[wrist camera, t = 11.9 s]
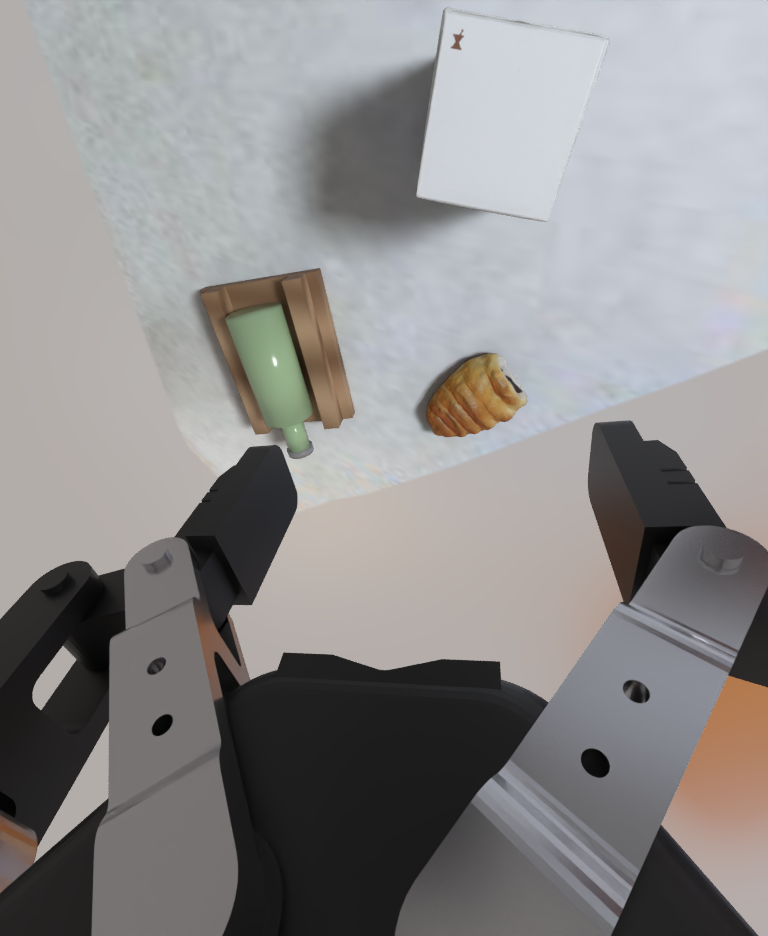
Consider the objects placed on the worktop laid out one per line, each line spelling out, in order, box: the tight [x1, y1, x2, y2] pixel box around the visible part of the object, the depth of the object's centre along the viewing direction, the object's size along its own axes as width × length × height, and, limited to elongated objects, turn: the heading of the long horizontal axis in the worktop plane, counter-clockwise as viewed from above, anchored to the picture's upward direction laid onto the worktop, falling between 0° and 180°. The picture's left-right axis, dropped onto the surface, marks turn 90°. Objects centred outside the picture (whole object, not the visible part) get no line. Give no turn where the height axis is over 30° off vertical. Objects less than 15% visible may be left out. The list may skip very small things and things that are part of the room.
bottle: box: [225, 302, 314, 459], centre depth 42 cm, size 14×5×5 cm, turn 10°
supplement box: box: [416, 7, 610, 222], centre depth 26 cm, size 7×7×13 cm
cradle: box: [200, 268, 355, 434], centre depth 42 cm, size 14×11×3 cm
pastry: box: [426, 353, 527, 437], centre depth 42 cm, size 9×7×4 cm
